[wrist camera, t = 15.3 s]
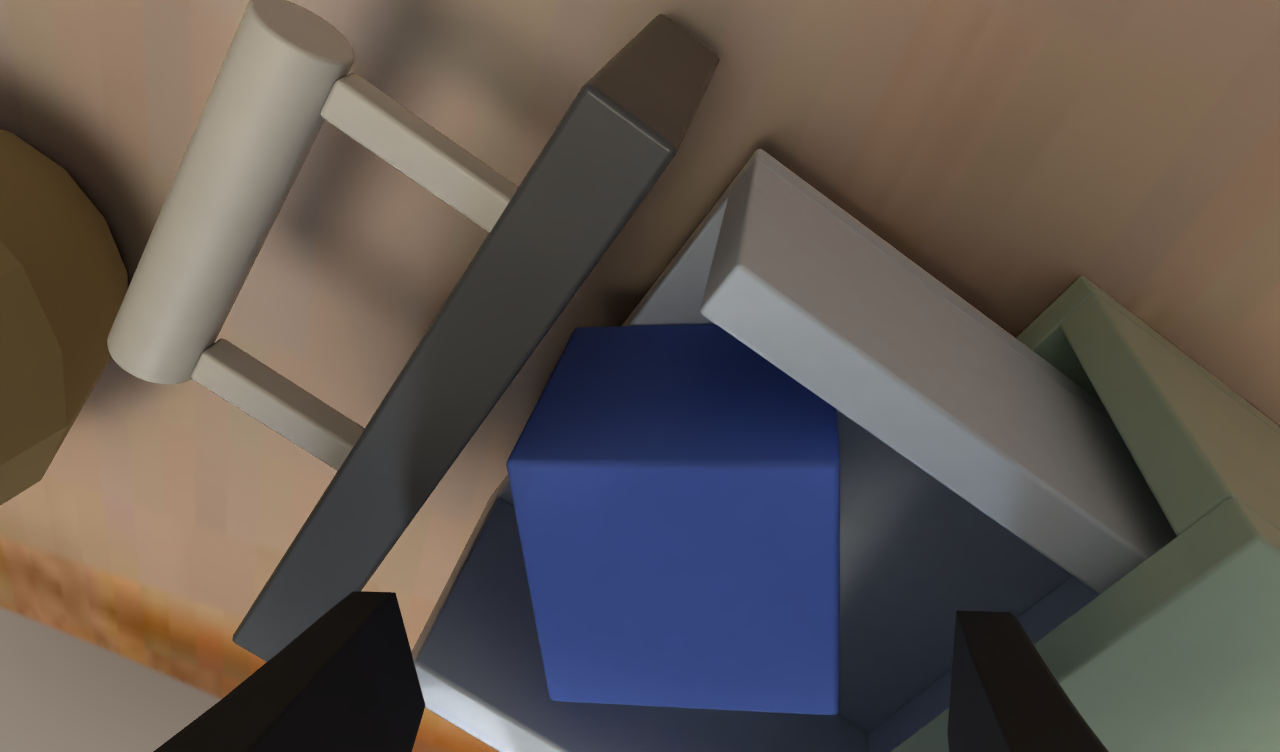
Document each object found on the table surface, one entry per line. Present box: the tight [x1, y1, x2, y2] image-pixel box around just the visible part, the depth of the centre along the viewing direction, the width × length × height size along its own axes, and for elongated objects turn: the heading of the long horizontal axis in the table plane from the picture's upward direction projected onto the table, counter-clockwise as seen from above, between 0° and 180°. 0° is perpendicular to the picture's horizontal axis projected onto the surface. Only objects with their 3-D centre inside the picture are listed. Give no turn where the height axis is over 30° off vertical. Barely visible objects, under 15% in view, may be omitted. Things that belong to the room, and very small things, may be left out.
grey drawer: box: [107, 0, 1177, 752], centre depth 15 cm, size 17×10×6 cm, turn 56°
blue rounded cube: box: [506, 324, 840, 715], centre depth 15 cm, size 4×4×4 cm
